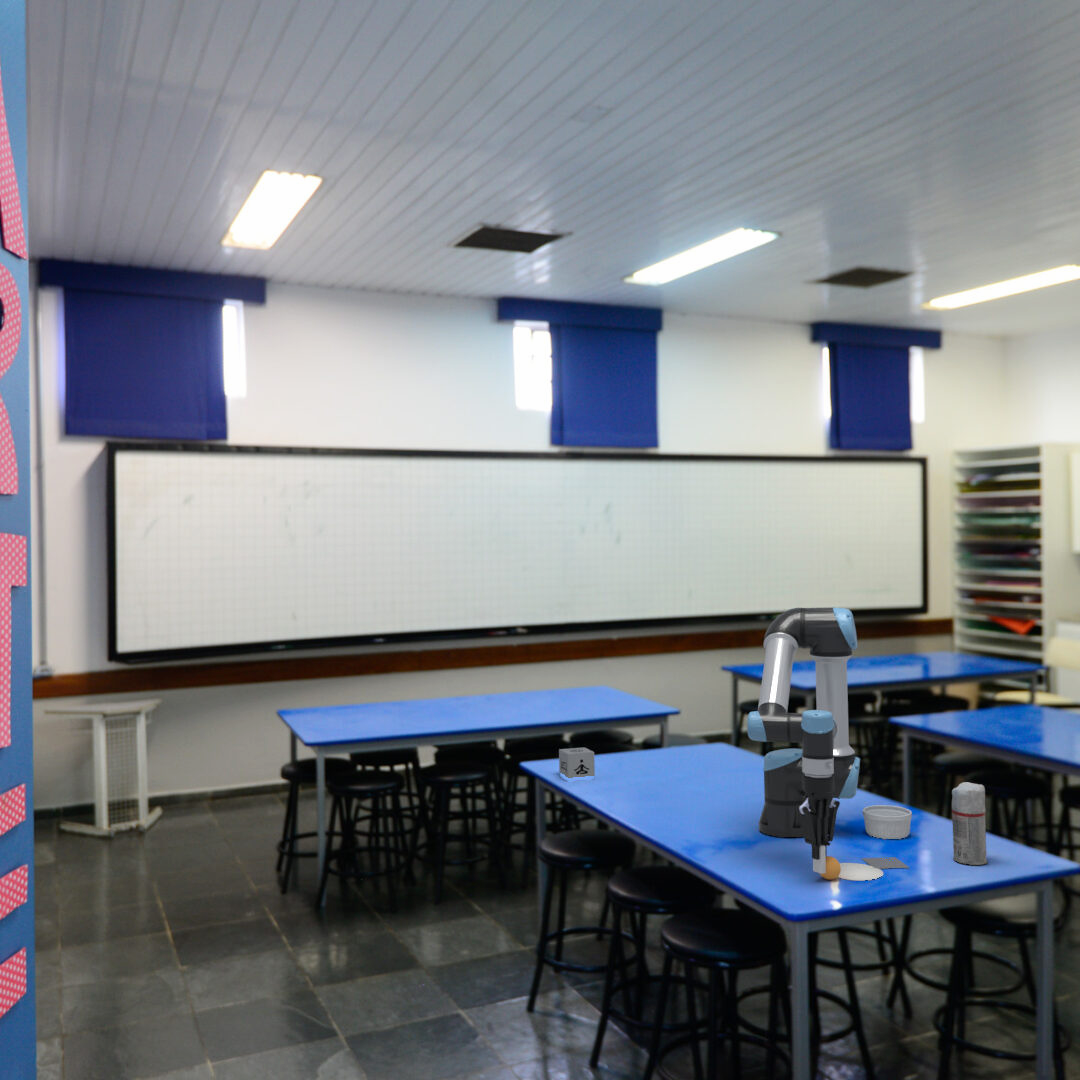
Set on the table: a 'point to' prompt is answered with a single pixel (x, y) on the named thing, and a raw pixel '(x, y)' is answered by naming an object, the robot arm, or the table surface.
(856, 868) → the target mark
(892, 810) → the ramekin
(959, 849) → the spray can
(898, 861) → the far mark
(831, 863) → the ball
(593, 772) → the icon cube
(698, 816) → the table surface
